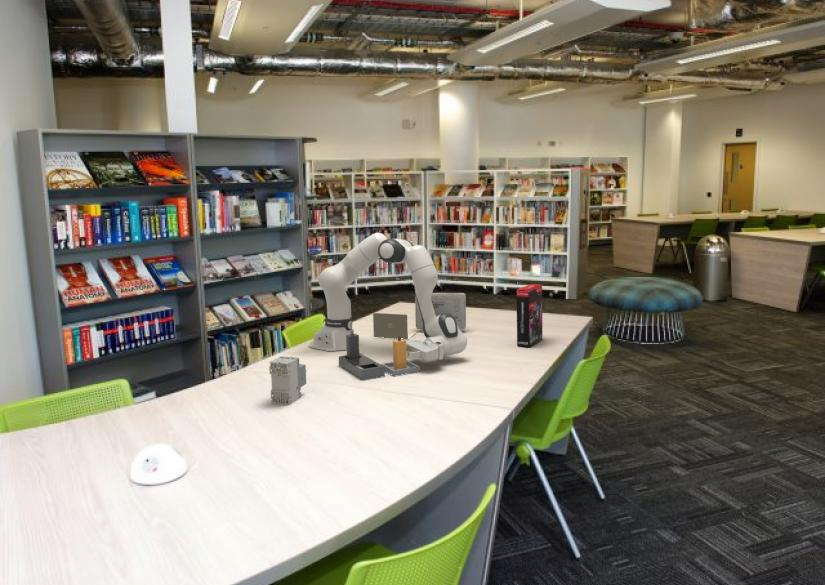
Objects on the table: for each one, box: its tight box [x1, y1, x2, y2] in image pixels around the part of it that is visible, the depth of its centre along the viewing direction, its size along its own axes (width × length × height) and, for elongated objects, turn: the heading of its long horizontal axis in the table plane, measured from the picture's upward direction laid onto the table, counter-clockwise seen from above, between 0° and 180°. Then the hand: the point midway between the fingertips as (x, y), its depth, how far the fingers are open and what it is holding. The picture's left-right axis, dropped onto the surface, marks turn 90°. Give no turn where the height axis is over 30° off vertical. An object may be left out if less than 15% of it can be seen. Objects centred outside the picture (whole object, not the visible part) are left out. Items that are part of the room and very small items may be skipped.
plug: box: [392, 335, 407, 370], centre depth 266 cm, size 3×4×14 cm
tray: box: [380, 359, 421, 377], centre depth 267 cm, size 12×12×2 cm
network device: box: [414, 292, 467, 331], centre depth 330 cm, size 26×9×20 cm, turn 84°
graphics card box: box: [516, 283, 543, 348], centre depth 304 cm, size 17×7×27 cm, turn 148°
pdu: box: [338, 352, 386, 381], centre depth 267 cm, size 24×10×4 cm, turn 29°
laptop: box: [372, 312, 409, 340], centre depth 324 cm, size 18×12×13 cm
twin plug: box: [346, 328, 360, 359], centre depth 273 cm, size 3×4×14 cm
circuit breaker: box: [268, 355, 307, 406], centre depth 235 cm, size 8×14×15 cm, turn 161°
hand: (403, 352), depth 267 cm, fingers open, 8 cm apart
